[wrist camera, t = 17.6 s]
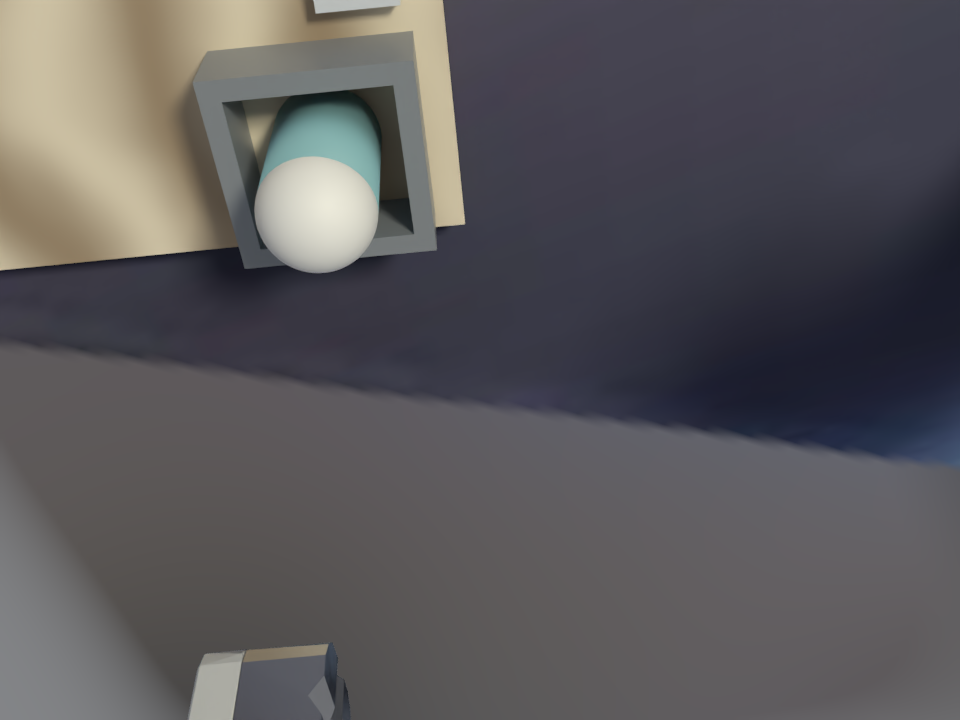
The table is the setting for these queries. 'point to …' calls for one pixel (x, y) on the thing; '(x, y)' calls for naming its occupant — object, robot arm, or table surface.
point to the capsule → (320, 181)
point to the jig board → (170, 119)
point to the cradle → (310, 72)
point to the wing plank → (351, 5)
